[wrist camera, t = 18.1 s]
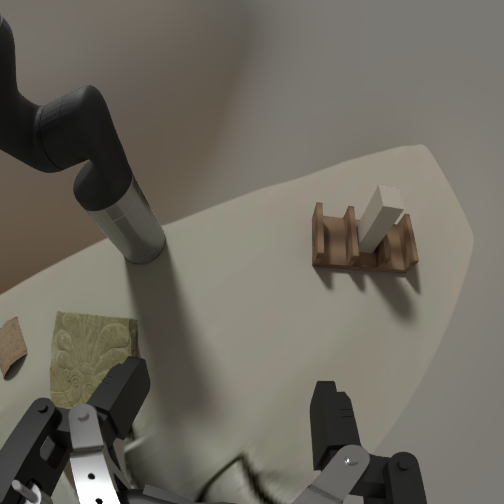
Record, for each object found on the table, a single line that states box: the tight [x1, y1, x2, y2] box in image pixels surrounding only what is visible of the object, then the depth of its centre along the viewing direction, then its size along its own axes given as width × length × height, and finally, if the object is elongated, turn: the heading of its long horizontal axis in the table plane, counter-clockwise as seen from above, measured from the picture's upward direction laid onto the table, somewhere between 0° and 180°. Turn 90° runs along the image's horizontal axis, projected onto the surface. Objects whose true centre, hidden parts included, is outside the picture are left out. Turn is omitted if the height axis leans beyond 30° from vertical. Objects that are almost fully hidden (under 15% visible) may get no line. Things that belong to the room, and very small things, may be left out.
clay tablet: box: [0, 317, 27, 378], centre depth 38 cm, size 14×10×3 cm
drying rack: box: [312, 202, 419, 273], centre depth 46 cm, size 10×19×5 cm, turn 84°
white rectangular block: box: [356, 185, 404, 253], centre depth 41 cm, size 4×4×14 cm
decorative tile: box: [50, 311, 137, 409], centre depth 38 cm, size 19×20×4 cm
